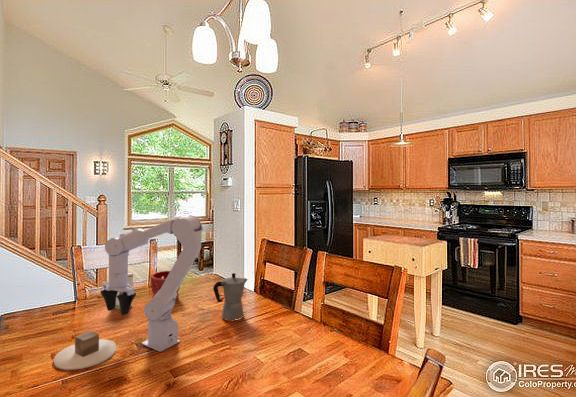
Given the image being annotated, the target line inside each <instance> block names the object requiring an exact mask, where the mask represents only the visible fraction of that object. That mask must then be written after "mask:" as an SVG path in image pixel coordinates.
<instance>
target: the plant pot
mask: <svg viewBox="0 0 576 397" xmlns="http://www.w3.org/2000/svg"><path fill="white" fill-rule="evenodd" d="M170 271H171V270H164V271H158V272H155V273H153V274H151V276H150V288H151V291H152V294H153V295H152V297H151V300H152V299H153V297H154V295H155V294H156V293H157V292H158V291H159V290H160V289H161V287H162V285H163V283H164V282H165V280H166V278H167V276H168V275H169V273H170ZM180 289H181V286H180V287H179V288H178V290H177V292H176V293H177V296H176V298H175V301H176V300H177V299H178V298H179V297H180V295H179V293H178V292H179V290H180Z"/></svg>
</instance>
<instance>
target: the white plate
mask: <svg viewBox="0 0 576 397" xmlns="http://www.w3.org/2000/svg"><path fill="white" fill-rule="evenodd" d="M116 352H117V344H116V343H115V342H114V341H112V340H111V339H105V338H104V339H100V338H99V351H96V352H94V353H92V354H89V355H87V356H84V357H82V356H80V355H78V354H76V353H75V343H74V344H71V345H69V346H67V347H64V348H63V349H62V350H60V351H59V352H57V353H56V354H55V356H54V357H53V366H55V368H58V369H60V370H63V371H75V370H81V369H87V368H90V367H93V366H96V365H99V364H102V363H105V361H107V360H109V359H110V358H112V356H113V355H114V354H115V353H116Z"/></svg>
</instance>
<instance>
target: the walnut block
mask: <svg viewBox="0 0 576 397" xmlns="http://www.w3.org/2000/svg"><path fill="white" fill-rule="evenodd" d="M99 339H100V334H98V333H97V332H94V331H92V330H89V331H87V332H85V333H84V332H83V333H81V334H78V335H76V336H75V337H74V344H75V353H76V354H78V355H80V356H82V357H84V356H87V355H89V354H92V353H94V352H96V351H99Z"/></svg>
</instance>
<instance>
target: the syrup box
mask: <svg viewBox="0 0 576 397" xmlns="http://www.w3.org/2000/svg"><path fill="white" fill-rule="evenodd" d="M133 278H134V273H131V272H128V284H129V285H130V286H131V287H132V288H134V287H133V285H134V279H133ZM121 294H123V293H122V292H119V291H118V293H117V295H121ZM132 306H133V302H132V303H131V306H130V307H132ZM115 309H116V310H120V303H119V300H118V298H117V296H116V304H115Z"/></svg>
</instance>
